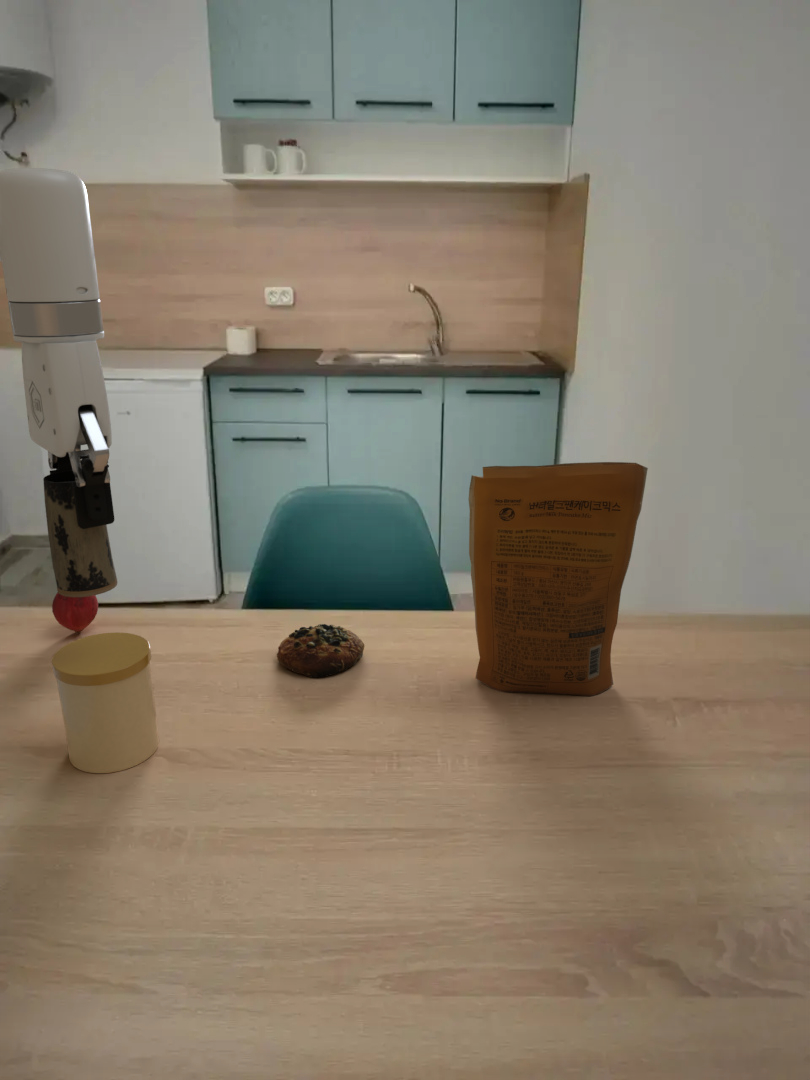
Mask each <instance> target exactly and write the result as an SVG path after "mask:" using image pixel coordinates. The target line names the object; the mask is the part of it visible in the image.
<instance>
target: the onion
mask: <svg viewBox="0 0 810 1080" xmlns="http://www.w3.org/2000/svg"><path fill="white" fill-rule="evenodd" d="M51 610H52V614H53V617H54V619H55V620H56V621H57V623H58V624H59V625H60V626H62V627H63V628H65V629H67V630H70V631H73V632H76V633H80V632H83V631H84V630H85V629H86V628H87V627H88V626H89V625H90V624H91V623H92V622H93V621H94V620H95V619H96V617H97V615H98V612H99V611H98V610H99V600H98V598H97V595H93V596H87V597H67V596H63V595H60V594H59V593H58V591H57V592H56V594H55V595H54V598H53V600H52V604H51Z"/></svg>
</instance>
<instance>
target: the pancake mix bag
mask: <svg viewBox="0 0 810 1080" xmlns="http://www.w3.org/2000/svg"><path fill="white" fill-rule="evenodd" d="M648 469H649V468H648V467H647V466H644V465H641V464H640V463H637V462H629V461H627V462H626V461H625V462H624V461H599V462H598V461H595V462H594V461H593V462H592V461H591V462H568V463H567V462H566V463H565V462H564V463H557V464H556V463H555V464H546V465H544V464H543V465H492V466H491V465H490V466H489V465H488V466H482V476H481V475H474V474H471V477H470V483H469V489H468V507H469V508H468V509H469V520H468V521H469V523H468V524H469V527H468V528H469V529H468V530H469V531H468V532H469V533H468V539H469V540H468V556H469V561H470V578H471V586H472V597H473V607H474V621H475V623H474V624H475V633H476V640H477V647H478V648H477V649H478V654H479V660H478V664H477V668H476V673H475V677H474V679H476V680H477V681H479V682H480V683H482V684H484V685H485V686H487V687H489V688H491V690H495V691H500V692H504V693H520V694H521V693H523V694H549V695H550V694H551V695H552V694H553V695H571V696H583V697H584V696H585V697H592V696H596V695H599V694H601V693H604V692H605V691H606V690H608V689H610V688H611V687H613V686H614V678H613V672H612V671H613V670H612V660H611V659H612V658H611V655H612V646H613V645H612V644H613V639H614V633H615V632H616V628H617V624H618V617H619V610H620V604H621V603H620V602H621V595H622V589H623V585H624V583H625V578H626V576H627V572H628V569H629V566H630V562H631V558H632V553H633V548H634V541H635V536H636V529H637V524H638V520H639V517H640V515H641V511H642V507H643V501H644V494H645V489H646V481H647V475H648Z"/></svg>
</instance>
